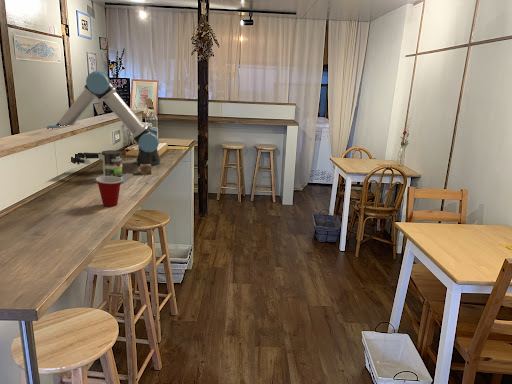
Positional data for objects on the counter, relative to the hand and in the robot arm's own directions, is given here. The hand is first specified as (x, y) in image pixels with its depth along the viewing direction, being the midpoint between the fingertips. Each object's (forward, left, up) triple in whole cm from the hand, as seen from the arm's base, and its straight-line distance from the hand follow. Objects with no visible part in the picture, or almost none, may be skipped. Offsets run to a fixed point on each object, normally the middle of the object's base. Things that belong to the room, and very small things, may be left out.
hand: (99, 159), depth 213 cm
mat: (-8, +3, -10) cm, 13 cm away
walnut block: (-21, -13, -10) cm, 27 cm away
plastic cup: (-23, +46, -10) cm, 52 cm away
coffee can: (-8, +3, -9) cm, 13 cm away
